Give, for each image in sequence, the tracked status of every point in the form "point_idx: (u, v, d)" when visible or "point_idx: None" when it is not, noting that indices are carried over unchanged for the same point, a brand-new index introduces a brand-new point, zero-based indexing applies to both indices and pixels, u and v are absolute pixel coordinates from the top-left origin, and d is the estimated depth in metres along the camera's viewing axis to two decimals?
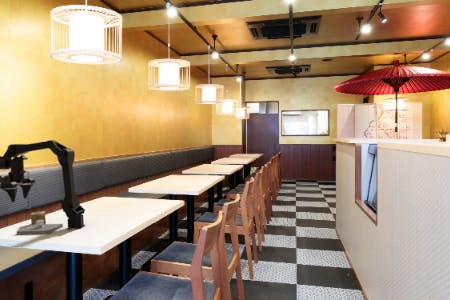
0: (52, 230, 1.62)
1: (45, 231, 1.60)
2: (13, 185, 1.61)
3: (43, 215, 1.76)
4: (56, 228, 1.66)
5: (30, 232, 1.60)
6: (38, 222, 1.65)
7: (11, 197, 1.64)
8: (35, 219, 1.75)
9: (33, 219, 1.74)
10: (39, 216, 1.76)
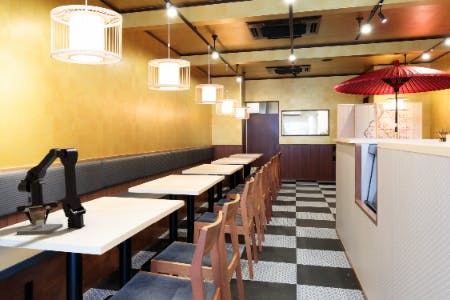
0: (52, 230, 1.62)
1: (45, 231, 1.60)
2: (19, 209, 1.71)
3: (43, 215, 1.76)
4: (56, 228, 1.66)
5: (30, 232, 1.60)
6: (38, 222, 1.65)
7: (29, 218, 1.76)
8: (35, 219, 1.75)
9: (33, 219, 1.74)
10: (39, 216, 1.76)
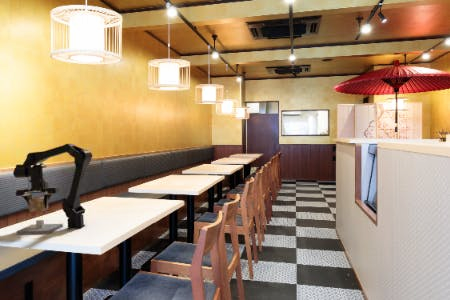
0: (52, 230, 1.62)
1: (45, 231, 1.60)
2: (17, 193, 1.66)
3: (41, 201, 1.68)
4: (56, 228, 1.66)
5: (30, 232, 1.60)
6: (38, 222, 1.65)
7: None
8: (33, 204, 1.67)
9: (31, 204, 1.67)
10: (37, 201, 1.67)
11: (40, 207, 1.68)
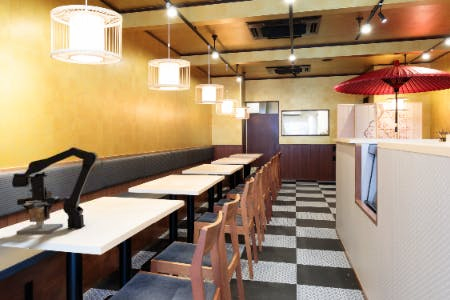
0: (52, 230, 1.62)
1: (45, 231, 1.60)
2: (18, 202, 1.63)
3: (40, 211, 1.62)
4: (56, 228, 1.66)
5: (30, 232, 1.60)
6: (38, 222, 1.65)
7: None
8: (33, 214, 1.62)
9: (31, 214, 1.63)
10: (36, 212, 1.62)
11: (40, 217, 1.63)
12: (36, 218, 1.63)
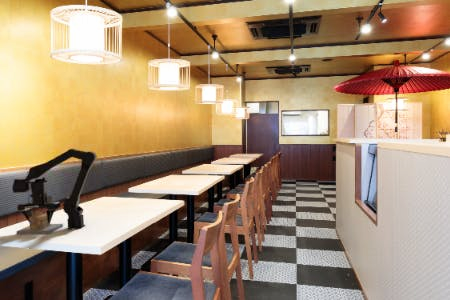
0: (52, 230, 1.62)
1: (45, 231, 1.60)
2: (18, 207, 1.63)
3: (40, 218, 1.62)
4: (56, 228, 1.66)
5: (30, 232, 1.60)
6: None
7: None
8: (33, 222, 1.63)
9: (31, 222, 1.63)
10: (37, 219, 1.63)
11: (40, 224, 1.63)
12: (36, 225, 1.63)
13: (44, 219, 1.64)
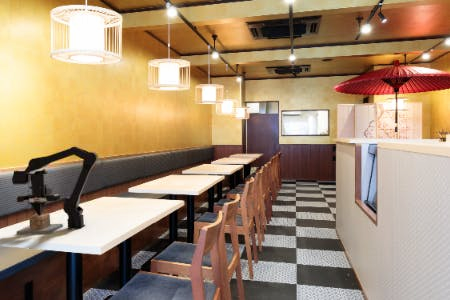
0: (52, 230, 1.62)
1: (45, 231, 1.60)
2: (18, 199, 1.63)
3: (40, 218, 1.62)
4: (56, 228, 1.66)
5: (30, 232, 1.60)
6: None
7: None
8: (33, 222, 1.63)
9: (31, 222, 1.63)
10: (37, 219, 1.63)
11: (40, 224, 1.63)
12: (36, 225, 1.63)
13: (44, 219, 1.64)
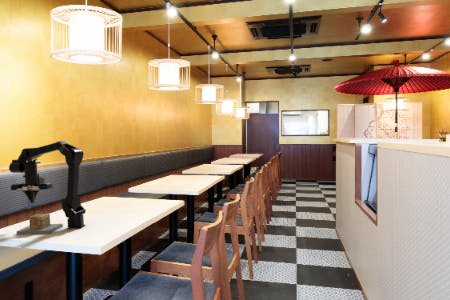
0: (52, 230, 1.62)
1: (45, 231, 1.60)
2: (12, 187, 1.70)
3: (40, 218, 1.62)
4: (56, 228, 1.66)
5: (30, 232, 1.60)
6: None
7: None
8: (33, 222, 1.63)
9: (31, 222, 1.63)
10: (37, 219, 1.63)
11: (40, 224, 1.63)
12: (36, 225, 1.63)
13: (44, 219, 1.64)
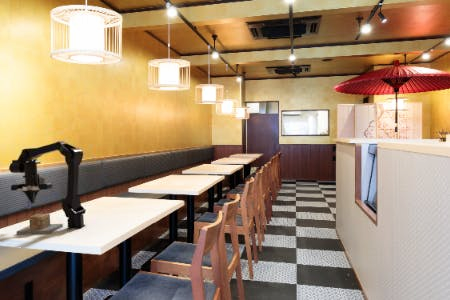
0: (52, 230, 1.62)
1: (45, 231, 1.60)
2: (12, 188, 1.71)
3: (40, 218, 1.62)
4: (56, 228, 1.66)
5: (30, 232, 1.60)
6: None
7: None
8: (33, 222, 1.63)
9: (31, 222, 1.63)
10: (37, 219, 1.63)
11: (40, 224, 1.63)
12: (36, 225, 1.63)
13: (44, 219, 1.64)
